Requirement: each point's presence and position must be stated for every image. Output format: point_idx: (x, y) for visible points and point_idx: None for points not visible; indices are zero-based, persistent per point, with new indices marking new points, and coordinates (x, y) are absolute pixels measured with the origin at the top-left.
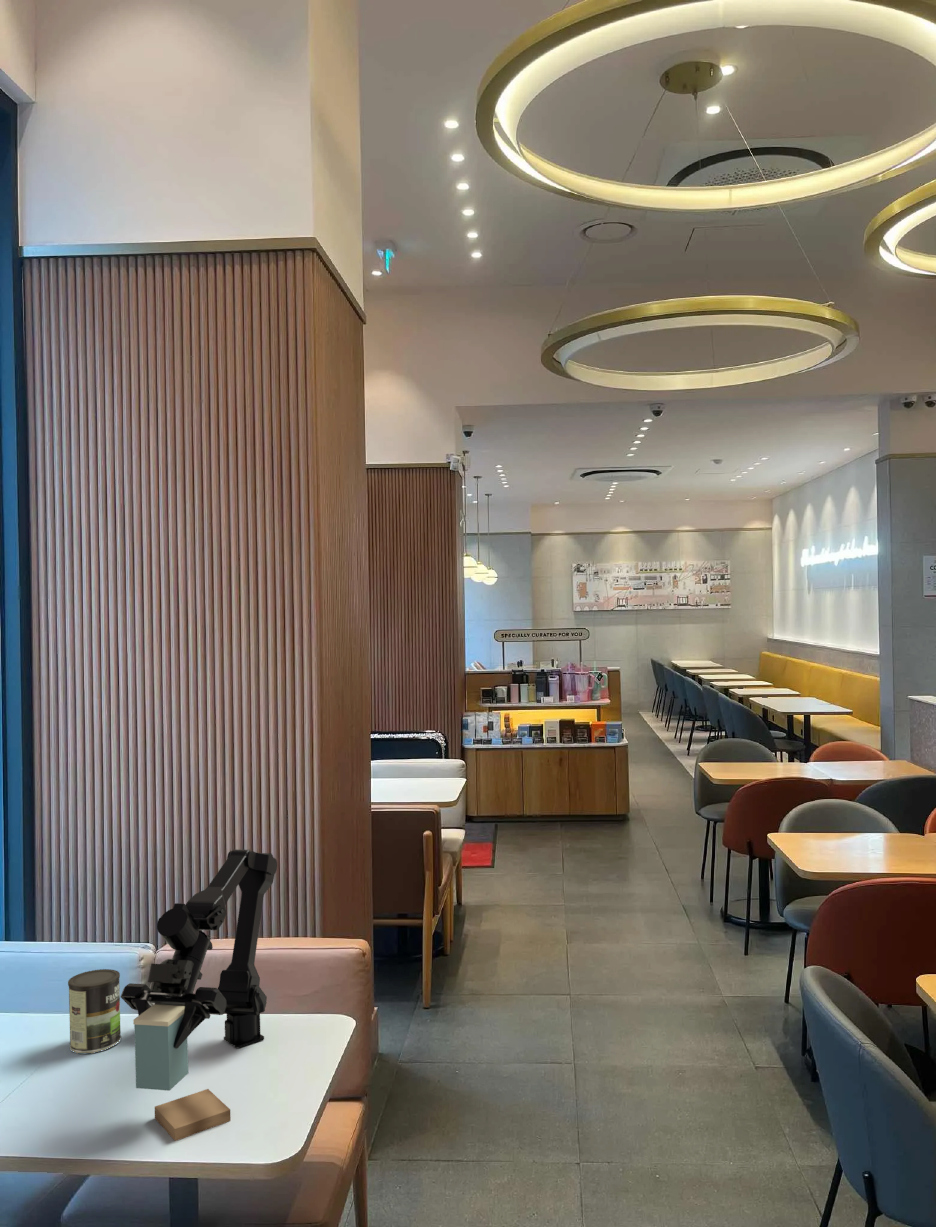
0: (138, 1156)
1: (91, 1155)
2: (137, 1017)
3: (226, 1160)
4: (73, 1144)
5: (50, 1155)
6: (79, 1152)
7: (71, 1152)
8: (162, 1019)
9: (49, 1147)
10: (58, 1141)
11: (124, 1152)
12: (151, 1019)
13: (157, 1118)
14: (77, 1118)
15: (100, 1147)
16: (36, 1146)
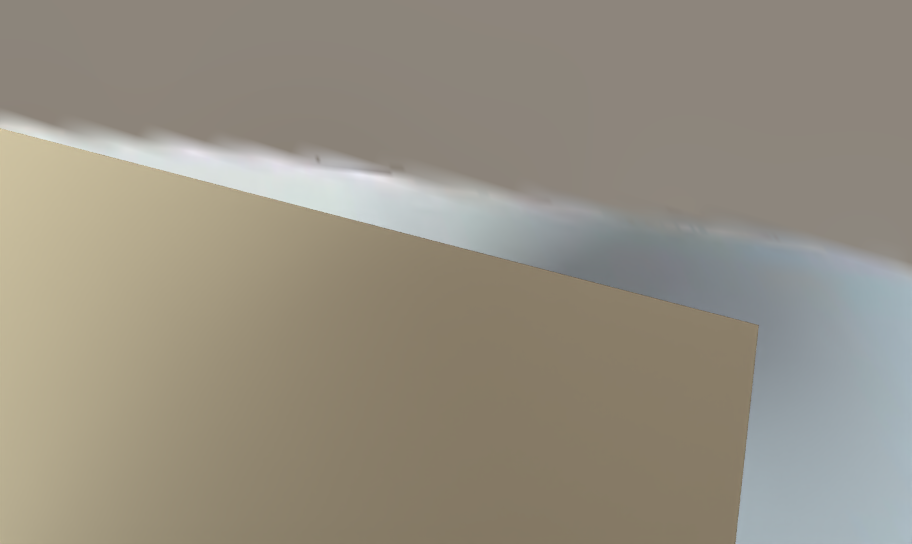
0: (435, 203)
1: (612, 229)
2: (722, 453)
3: (118, 146)
4: (719, 312)
5: (768, 246)
6: (667, 253)
7: (698, 257)
8: (98, 245)
9: (804, 301)
10: (793, 342)
11: (495, 234)
12: (346, 284)
13: None
14: (816, 538)
15: (601, 279)
16: (862, 315)
